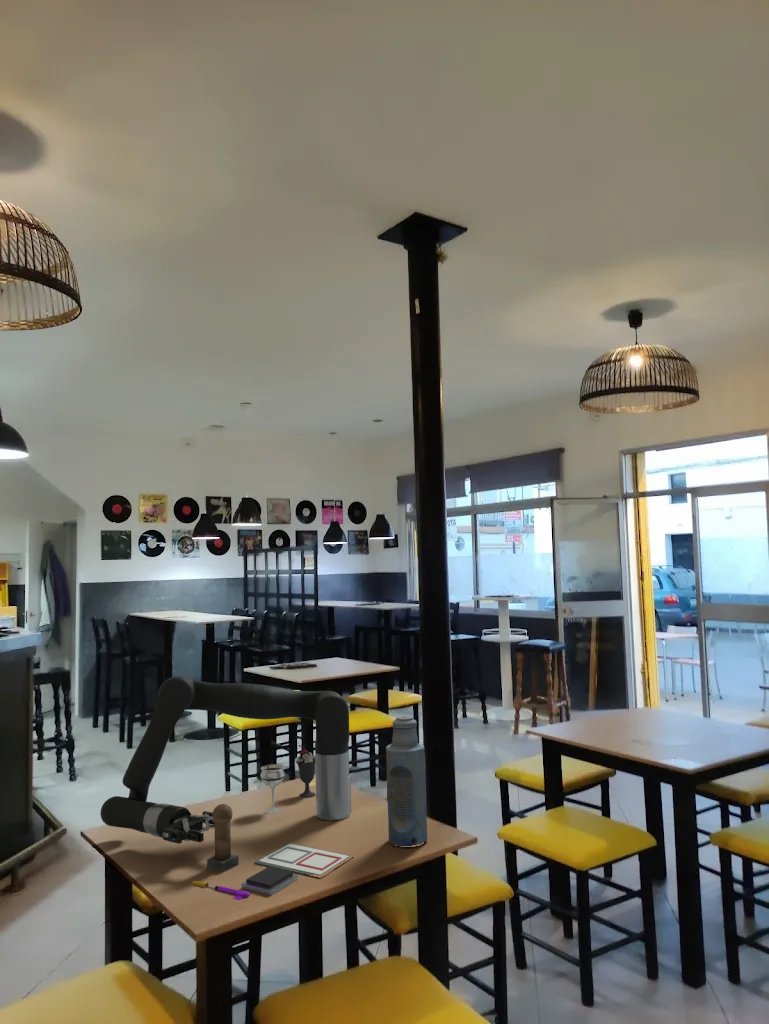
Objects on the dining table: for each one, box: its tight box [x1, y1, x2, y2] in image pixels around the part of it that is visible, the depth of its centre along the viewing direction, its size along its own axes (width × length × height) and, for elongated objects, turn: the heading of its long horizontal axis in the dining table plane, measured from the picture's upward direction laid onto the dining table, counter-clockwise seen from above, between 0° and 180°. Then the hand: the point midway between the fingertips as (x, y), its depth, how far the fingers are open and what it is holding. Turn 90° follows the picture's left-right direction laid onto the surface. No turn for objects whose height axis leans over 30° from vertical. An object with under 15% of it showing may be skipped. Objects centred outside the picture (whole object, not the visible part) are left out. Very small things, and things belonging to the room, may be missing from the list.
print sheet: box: [254, 842, 351, 877], centre depth 165 cm, size 13×19×1 cm
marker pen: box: [189, 880, 250, 901], centre depth 150 cm, size 3×1×16 cm
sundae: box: [295, 744, 316, 798], centre depth 216 cm, size 7×7×15 cm
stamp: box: [206, 803, 240, 873], centre depth 164 cm, size 5×5×14 cm
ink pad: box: [241, 866, 298, 896], centre depth 153 cm, size 9×8×2 cm
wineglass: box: [260, 763, 286, 815], centre depth 202 cm, size 7×7×12 cm
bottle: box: [385, 715, 428, 846], centre depth 176 cm, size 10×10×30 cm
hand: (216, 831), depth 165 cm, fingers open, 8 cm apart
